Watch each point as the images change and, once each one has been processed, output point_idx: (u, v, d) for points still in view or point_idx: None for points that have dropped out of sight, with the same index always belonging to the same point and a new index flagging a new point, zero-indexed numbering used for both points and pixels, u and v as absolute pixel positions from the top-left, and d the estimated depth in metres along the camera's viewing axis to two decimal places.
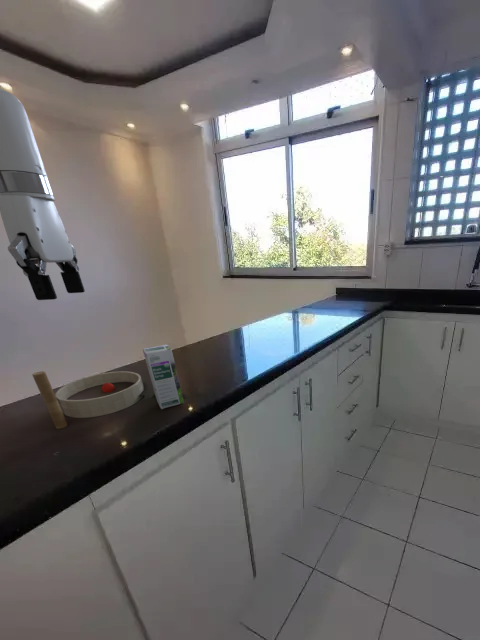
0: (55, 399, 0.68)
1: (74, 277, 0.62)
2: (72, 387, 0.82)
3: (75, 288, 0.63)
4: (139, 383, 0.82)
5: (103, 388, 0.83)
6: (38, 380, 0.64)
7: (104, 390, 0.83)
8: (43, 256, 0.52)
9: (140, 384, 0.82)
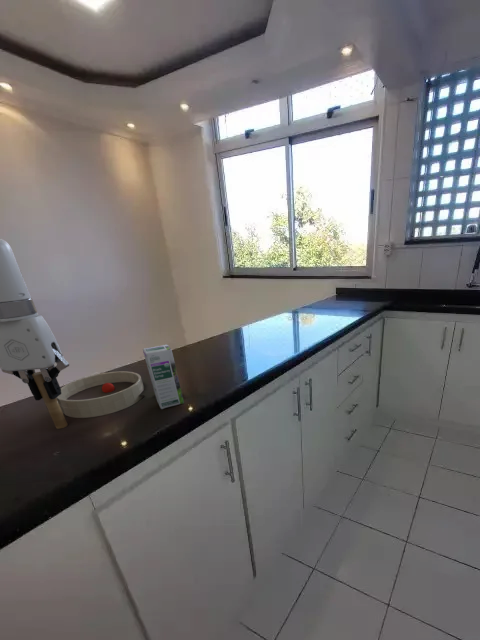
0: (55, 399, 0.68)
1: None
2: (72, 387, 0.82)
3: None
4: (139, 383, 0.82)
5: (103, 388, 0.83)
6: (38, 380, 0.64)
7: (104, 390, 0.83)
8: None
9: (140, 384, 0.82)
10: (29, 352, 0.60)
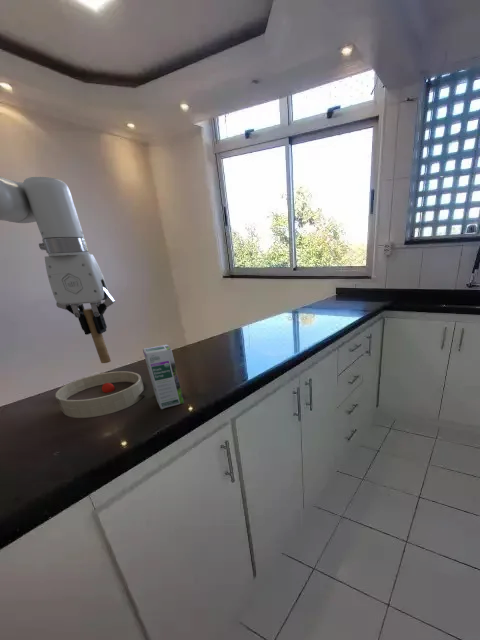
0: (101, 335, 0.75)
1: None
2: (72, 387, 0.82)
3: None
4: (139, 383, 0.82)
5: (103, 388, 0.83)
6: (88, 315, 0.72)
7: (104, 390, 0.83)
8: None
9: (140, 384, 0.82)
10: (83, 286, 0.68)
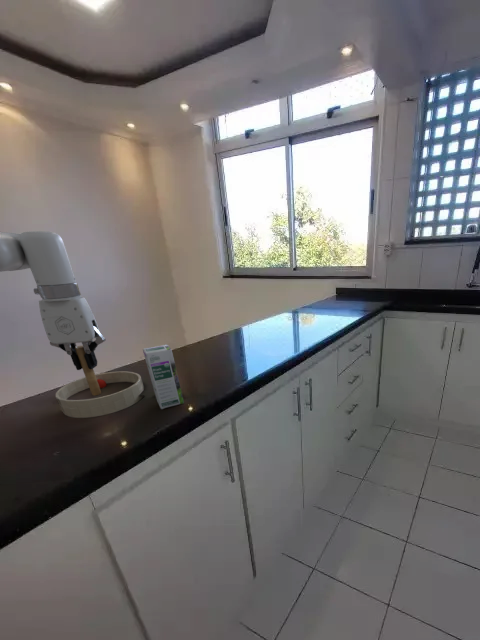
0: (92, 369, 0.80)
1: None
2: (72, 387, 0.82)
3: None
4: (139, 383, 0.82)
5: None
6: (79, 352, 0.76)
7: None
8: None
9: (140, 384, 0.82)
10: (75, 327, 0.72)
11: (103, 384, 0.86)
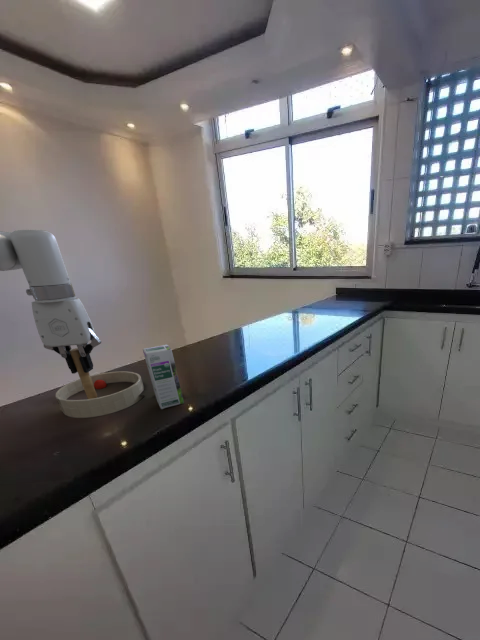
0: (88, 373, 0.77)
1: None
2: (72, 387, 0.82)
3: None
4: (139, 383, 0.82)
5: None
6: (74, 355, 0.74)
7: None
8: None
9: (140, 384, 0.82)
10: (69, 330, 0.70)
11: (103, 386, 0.86)
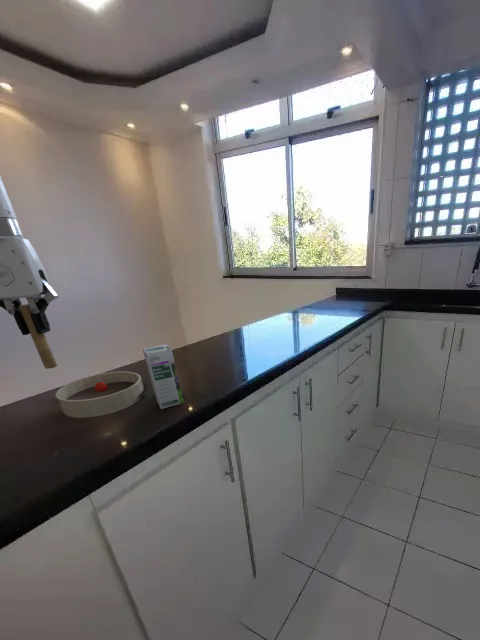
0: (43, 335, 0.64)
1: None
2: (72, 387, 0.82)
3: None
4: (139, 383, 0.82)
5: None
6: (24, 312, 0.61)
7: None
8: None
9: (140, 384, 0.82)
10: (14, 277, 0.56)
11: None
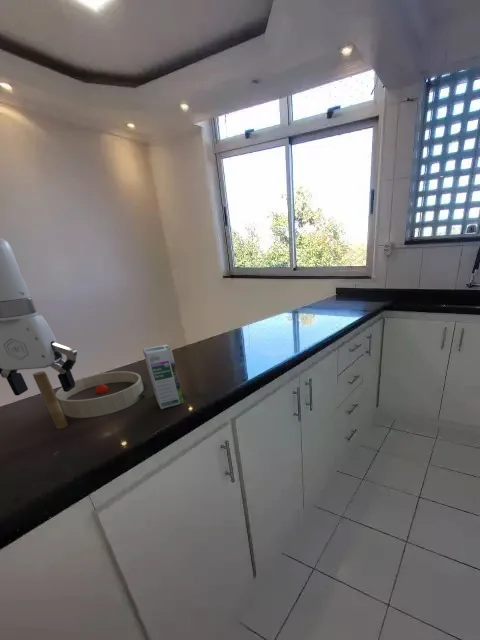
0: (55, 399, 0.67)
1: (20, 378, 0.66)
2: None
3: (23, 388, 0.66)
4: (139, 383, 0.82)
5: None
6: (38, 380, 0.64)
7: (96, 391, 0.82)
8: None
9: (140, 384, 0.82)
10: (28, 351, 0.60)
11: None
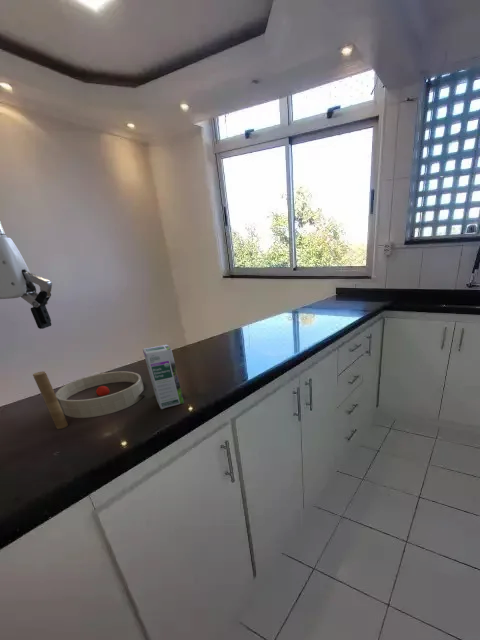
0: (55, 399, 0.67)
1: None
2: (72, 387, 0.82)
3: None
4: (139, 383, 0.82)
5: (97, 392, 0.81)
6: (38, 380, 0.64)
7: (97, 393, 0.81)
8: None
9: (140, 384, 0.82)
10: None
11: None
